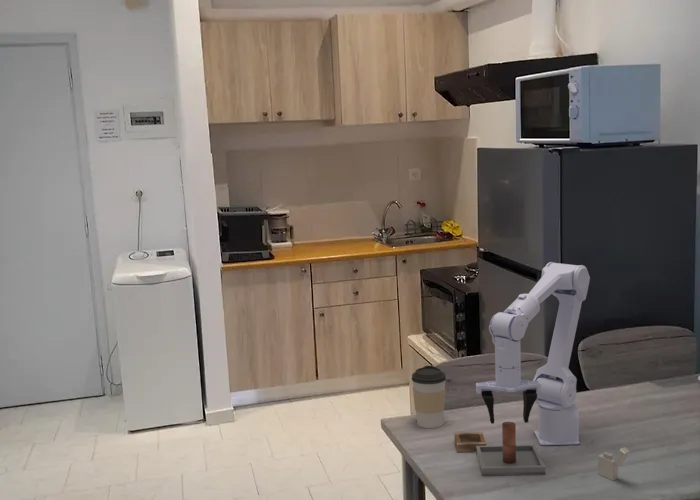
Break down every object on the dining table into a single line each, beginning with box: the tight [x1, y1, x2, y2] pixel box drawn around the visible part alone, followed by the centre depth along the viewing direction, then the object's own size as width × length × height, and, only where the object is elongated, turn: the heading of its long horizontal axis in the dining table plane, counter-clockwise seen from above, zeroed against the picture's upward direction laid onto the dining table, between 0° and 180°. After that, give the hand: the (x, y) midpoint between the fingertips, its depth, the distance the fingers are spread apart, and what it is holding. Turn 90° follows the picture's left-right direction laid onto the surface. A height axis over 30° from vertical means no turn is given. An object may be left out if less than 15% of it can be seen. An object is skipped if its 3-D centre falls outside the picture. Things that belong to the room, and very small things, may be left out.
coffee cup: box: [411, 365, 447, 429], centre depth 195 cm, size 9×9×15 cm
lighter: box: [597, 446, 631, 481], centre depth 160 cm, size 7×2×8 cm, turn 32°
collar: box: [453, 431, 487, 453], centre depth 181 cm, size 7×7×2 cm
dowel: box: [501, 421, 517, 464], centre depth 170 cm, size 3×3×9 cm
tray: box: [475, 444, 546, 477], centre depth 170 cm, size 14×12×2 cm
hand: (508, 421), depth 169 cm, fingers open, 7 cm apart
